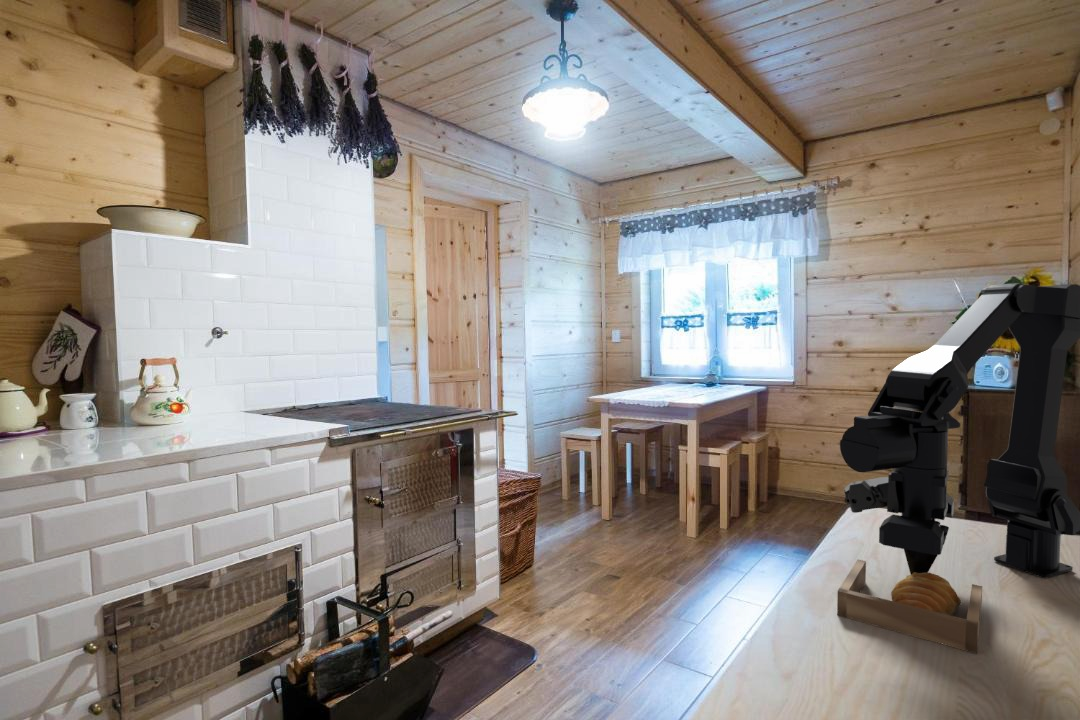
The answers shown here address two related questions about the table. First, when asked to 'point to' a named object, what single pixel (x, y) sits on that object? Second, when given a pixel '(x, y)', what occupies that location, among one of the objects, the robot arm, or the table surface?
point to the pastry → (927, 593)
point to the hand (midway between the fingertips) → (917, 581)
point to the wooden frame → (909, 614)
